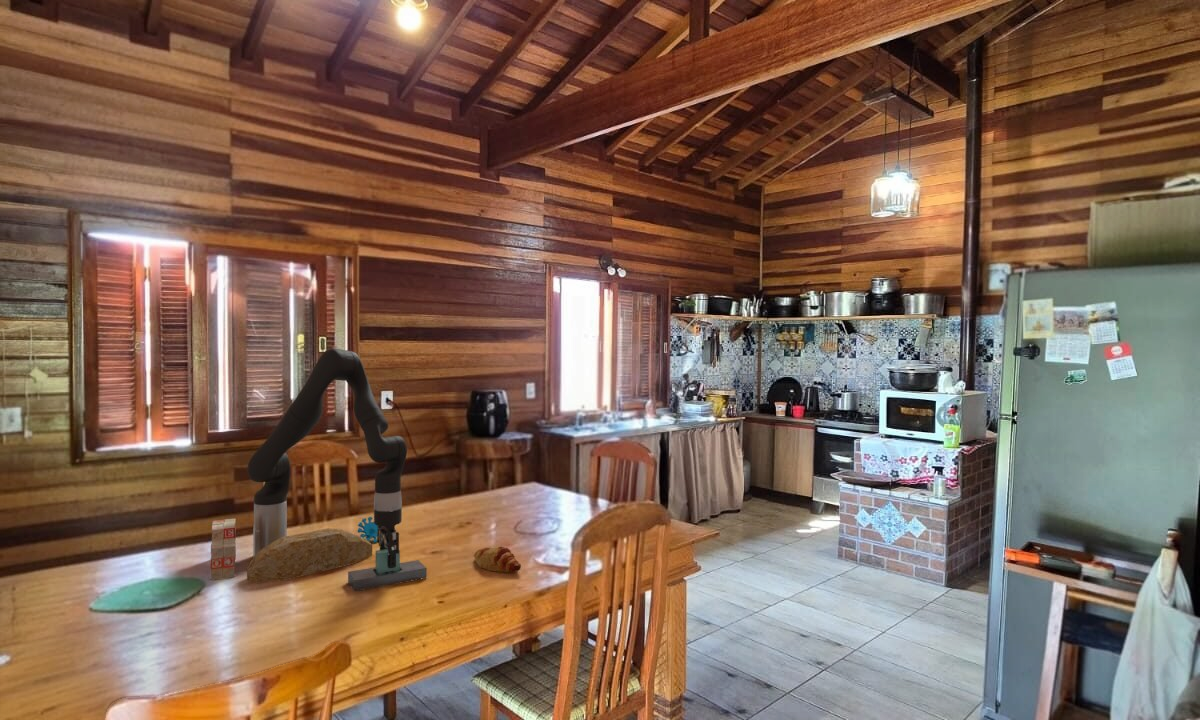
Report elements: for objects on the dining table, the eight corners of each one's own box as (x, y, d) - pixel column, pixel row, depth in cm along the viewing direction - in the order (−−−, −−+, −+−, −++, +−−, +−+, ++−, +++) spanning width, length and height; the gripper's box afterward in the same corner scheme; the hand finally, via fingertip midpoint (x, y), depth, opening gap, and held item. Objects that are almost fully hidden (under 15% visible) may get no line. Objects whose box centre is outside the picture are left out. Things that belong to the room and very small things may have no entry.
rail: (354, 591, 182) (354, 580, 182) (348, 582, 189) (348, 571, 188) (426, 578, 192) (426, 567, 192) (418, 570, 199) (418, 560, 199)
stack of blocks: (235, 577, 192) (235, 535, 191) (210, 581, 189) (209, 537, 188) (235, 556, 211) (235, 517, 210) (213, 559, 208) (212, 519, 207)
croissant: (468, 572, 208) (458, 552, 205) (490, 550, 214) (480, 531, 212) (513, 588, 194) (503, 567, 191) (535, 564, 200) (526, 543, 198)
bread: (255, 587, 185) (255, 551, 184) (242, 577, 192) (242, 542, 192) (377, 558, 210) (377, 527, 210) (362, 550, 218) (362, 520, 217)
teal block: (378, 582, 188) (378, 553, 187) (375, 578, 190) (375, 550, 190) (399, 578, 191) (399, 550, 191) (396, 574, 194) (396, 547, 193)
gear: (361, 541, 221) (356, 515, 227) (354, 551, 224) (350, 525, 230) (393, 540, 228) (388, 515, 234) (386, 549, 231) (381, 524, 237)
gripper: (368, 503, 194) (368, 558, 194) (380, 514, 182) (380, 573, 182) (394, 500, 198) (394, 554, 198) (408, 510, 186) (408, 568, 186)
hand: (387, 563), depth 190 cm, fingers open, 8 cm apart
